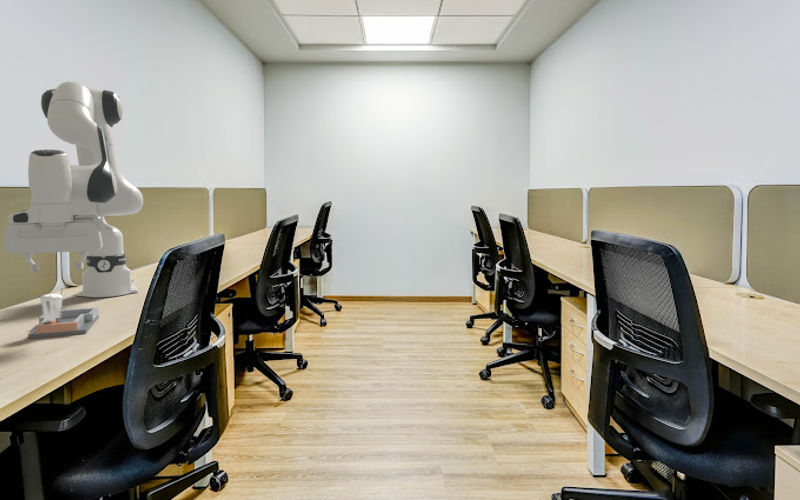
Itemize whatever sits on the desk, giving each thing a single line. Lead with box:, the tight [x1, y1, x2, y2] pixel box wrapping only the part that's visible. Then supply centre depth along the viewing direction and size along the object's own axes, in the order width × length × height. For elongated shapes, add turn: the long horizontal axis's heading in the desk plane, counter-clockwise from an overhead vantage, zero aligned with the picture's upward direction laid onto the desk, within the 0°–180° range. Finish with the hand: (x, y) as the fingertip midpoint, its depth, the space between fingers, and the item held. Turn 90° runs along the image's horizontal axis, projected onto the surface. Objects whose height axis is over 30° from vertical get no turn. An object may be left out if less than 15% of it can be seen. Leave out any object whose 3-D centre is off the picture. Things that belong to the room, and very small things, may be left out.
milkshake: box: [39, 287, 64, 324], centre depth 124 cm, size 4×5×10 cm
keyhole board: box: [27, 306, 100, 339], centre depth 130 cm, size 18×12×3 cm, turn 23°
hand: (57, 269), depth 124 cm, fingers open, 8 cm apart
